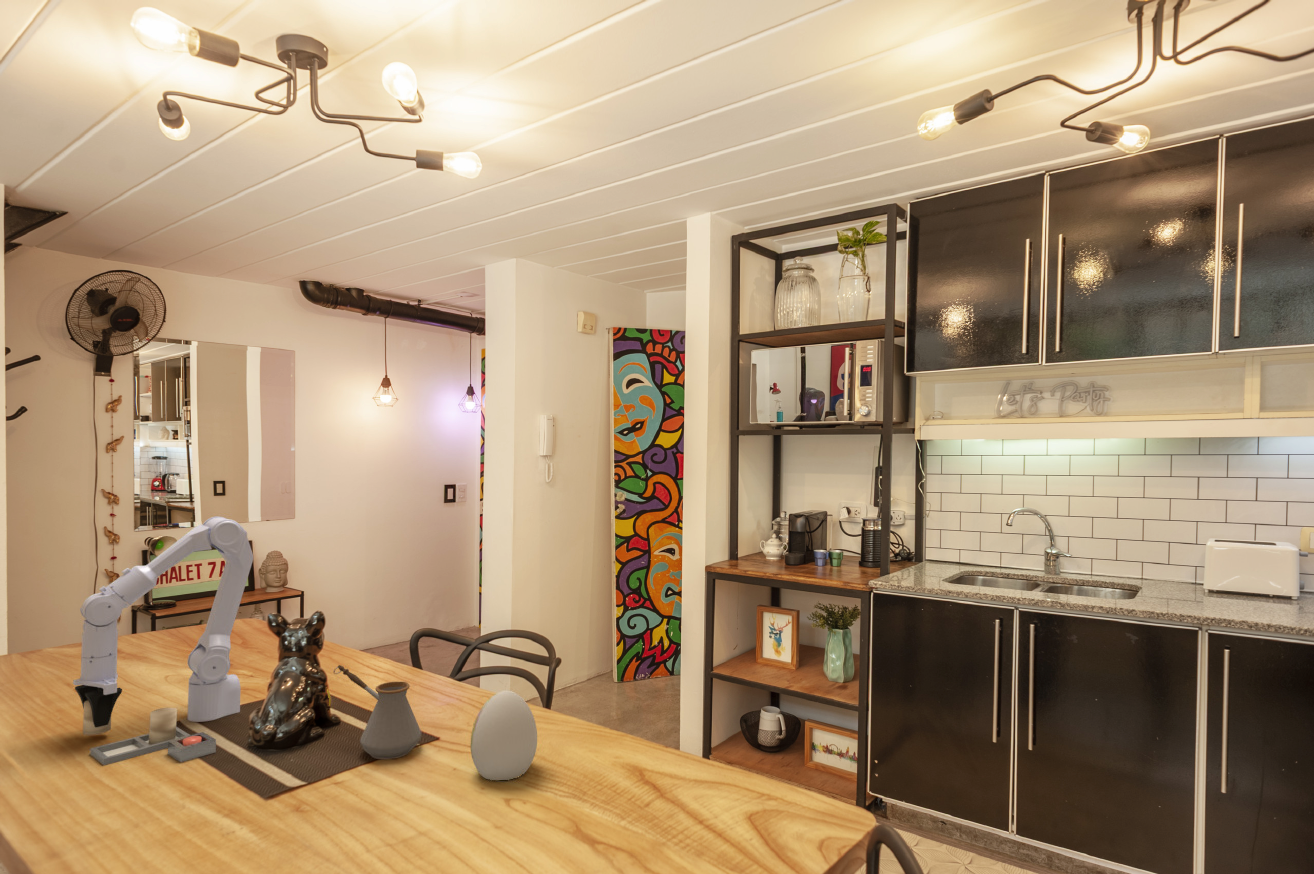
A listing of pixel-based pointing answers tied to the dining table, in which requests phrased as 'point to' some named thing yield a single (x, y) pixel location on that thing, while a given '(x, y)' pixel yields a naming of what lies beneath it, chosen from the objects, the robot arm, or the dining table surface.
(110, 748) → the shallow grey tray
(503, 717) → the decorative egg
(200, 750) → the button housing
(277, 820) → the dining table surface
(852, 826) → the dining table surface
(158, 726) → the cylinder
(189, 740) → the button
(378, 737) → the coffee pot
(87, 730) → the billet
